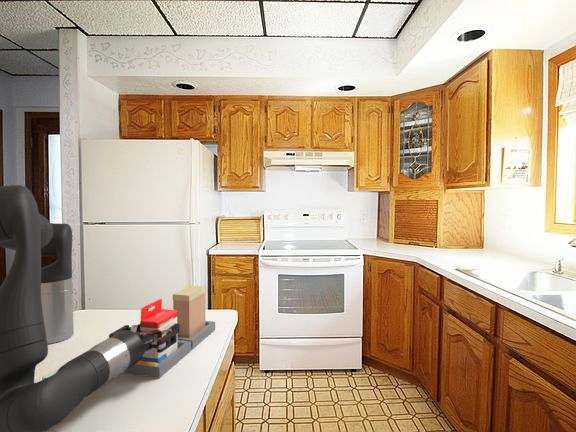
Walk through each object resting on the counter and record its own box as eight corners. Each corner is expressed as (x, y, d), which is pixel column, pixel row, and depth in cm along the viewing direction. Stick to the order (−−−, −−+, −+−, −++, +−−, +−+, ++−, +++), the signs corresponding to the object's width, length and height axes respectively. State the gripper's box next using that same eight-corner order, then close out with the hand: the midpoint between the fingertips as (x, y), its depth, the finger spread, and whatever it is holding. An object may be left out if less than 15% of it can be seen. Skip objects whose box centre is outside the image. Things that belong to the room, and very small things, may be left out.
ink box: (158, 371, 73) (157, 310, 72) (139, 369, 74) (139, 308, 73) (178, 353, 81) (177, 298, 80) (161, 352, 82) (160, 297, 81)
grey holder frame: (124, 372, 72) (124, 361, 72) (188, 326, 99) (188, 317, 98) (159, 378, 70) (159, 366, 70) (215, 329, 96) (215, 320, 96)
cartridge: (173, 343, 87) (172, 294, 86) (190, 330, 96) (190, 285, 95) (189, 345, 86) (189, 295, 85) (205, 331, 95) (205, 286, 94)
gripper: (143, 342, 61) (188, 313, 76) (83, 334, 64) (138, 308, 80) (143, 379, 61) (188, 343, 77) (84, 370, 64) (139, 336, 80)
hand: (163, 325), depth 78 cm, fingers open, 8 cm apart
